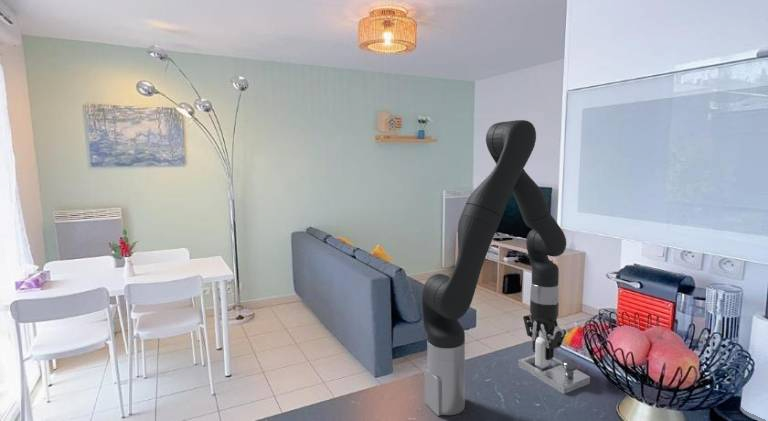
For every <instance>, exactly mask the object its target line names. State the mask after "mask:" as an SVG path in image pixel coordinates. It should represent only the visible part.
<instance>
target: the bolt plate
mask: <svg viewBox="0 0 768 421" xmlns="http://www.w3.org/2000/svg"><path fill="white" fill-rule="evenodd" d="M517 364H518V368H520V369H522V370H524V371H525V372H527V373H529V374H530V375H532V376H533V377H535V378H537V379H539V381H542V382H544V383H545V384H546V385H549V386H550V387H551V388H553V389H555V390H556V391H558V392H559V393H561V394H563V395H565V394H567V393H570V392H572V391H575V390H577V389H580V388H583V387H584V386H588V385H590V384H591V376H589V375H588V374H586V373H584V372H583V371H580V370H578V362H576V361H575V360H573V359H570V358H567V359H563V360H562V361H561V360H559V359H558V358H555V357H553V358H552V359H551V363H550V365H551V366H552V368H549V369H546V370H543V371H542V370H540V369H539V368H537V367H536V366H533V365H534V364H535V354H532V355H529V356H526V357H523V358H520V359H518V362H517Z"/></svg>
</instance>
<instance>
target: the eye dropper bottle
mask: <svg viewBox="0 0 768 421" xmlns="http://www.w3.org/2000/svg"><path fill="white" fill-rule="evenodd" d="M547 336H549V335H547ZM549 341H550V340H549ZM550 343H551V342H550ZM545 347H546V344H545V340H544V339H543V334H542V332H541V330H540V331H539V336H538V337H537V339H536V342H535V353H534V355H535V363H534V365H535V366H534V367H536V368H537V367H538V368H540V369H546V368H547V367H549V366H550V365H551V364H550V363H551V359H550V360H546V359H545Z"/></svg>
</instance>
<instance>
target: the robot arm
mask: <svg viewBox="0 0 768 421" xmlns="http://www.w3.org/2000/svg"><path fill="white" fill-rule="evenodd" d="M536 141H537V132H536V127H535V126H534V124H533V123H532V122H530V121H529V120H526V119H525V120H524V119H517V120H510V121H509V120H508V121H500V122H496V123H493V124H492V125H491V126H489V128H488V130H487V132H486V135H485V144H486V148H487V150H488V152H489V154H490V156H491V158H492V159H493V161H494V163H495V164H496V165H495V166H494V168H493V170H492V171H491V172H490V173H489V175H488V176H487V177H486V178H485V179H483V181H482V182H481V183H480V184H479V185H477V187H476V188H475V189H474V190H473V191H472V192H471V194H470V195H469V197H468V199H467V200H466V203H465V205H464V207H463V209H462V212H461V214H460V216H459V219H458V225H457V243H458V244H457V246H458V252H457V259H456V262H455V265H454V267H453V270H452V273H451V274H450V276H449V275H446V274H444V273H435V274H433V275H431V276H429V277H428V279H427V280H426V281H425V283H424V285H423V287H422V294H421V301H422V302H421V304H422V322H423V327H424V330H425V333H426V345H427V346H426V347H427V348H426V349H427V350H426V352H427V353H426V354H427V356H426V357H427V367H424V371H423V372H424V374H423V375H424V376H423V377H424V378H423V379H424V403H425V405H427V407H428V408H430V410H431V411H432V412H434V414H435V415H436V416H437V417H440V416H455V415H458V414H461V413H462V412H463V411H464V410H465V408H466V362H465V361H466V358H465V357H466V356H465V355H466V352H465V350H466V348H465V347H466V345H465V344H466V342H465V341H466V340H465V339H466V335H465V334H466V332H465V329H464V327H463V326H462V325H461V323H460V322H459V319H461V318H462V317H463V316H465V314H466V313H467V311H468V310H469V309H470V306H471V305H472V302H473V298H474V295H475V294H476V293H475V291H476V289H477V285H478V281H479V278H480V274H481V273H482V272H481V271H482V269H483V266H484V265H483V264H484V263H485V259H486V258H487V255H488V252H489V249H490V246H491V244H492V242H493V239H494V237H495V234H496V232H497V230H498V228H499V226H500V223H501V220H502V218H503V215H504V212H505V209H506V207H507V205H508V202H509V200H510V197H511V195H512V194H513V196H514V197H513V198H515V200H516V203H517V205H518V208H519V211H520V212H519V213H520V214H521V216H522V220H523V221H524V223H525V225H526V226H527V227H528V228H530V229H531V230H530V231H529V232H528V234H527V236H526V242H525V243H526V244H525V246H526V251H527V255H528V259H529V264H530V267H531V284H530V293H529V294H530V297H529V299H530V300H529V314H527V315H524V316H523V317H522V318H523V322H524V327H525V330H526V334H527V336H528V337H530V338H531V340H532V351H533V353H534V354H535V342H536V339H537V337H538V336H539V331H540V330H541V332H542V334H543V339H544V340H545V344H546V347H545V359H546V360H550V359H552V358H553V357H554V356H555V355H554V352H555V349H557V348H560V347H561V346H562V343H563V342H564V339H565V337H566V334H567V331H566V329H562V328H560V327H559V326H558V324H559V323H558V321H557V318H558V317H559V307H560V304H559V303H560V289H559V278H560V277H559V266H558V265H557V264H556V263H554V262H553V261H552V260H550V258H549V257H555V258H557V257H559V256H561V255H562V254H564V252H565V251H566V248H567V239H566V235H565V233H564V231H563V230H562V228H561V227H560V225H559V224H558V222H557V221H556V219H555V218H554V217H553V216H552V214H551V211H550V209H549V206H548V203H547V200H546V196H545V195H544V193H543V190H541V188H540V187H539V185H538V184H537V183H536V182H535V181H534V180H533V179H532V177H531V176H530V175H529V174H528V173H527V172H526V170H525V169H524V168H525V166H526V164H527V162H528V161H529V158H530V157H531V155H532V153H533V151H534V148H535V145H536ZM547 335H548V336H547ZM549 340H550V341H549ZM550 342H551V343H550ZM554 358H555V357H554Z"/></svg>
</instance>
